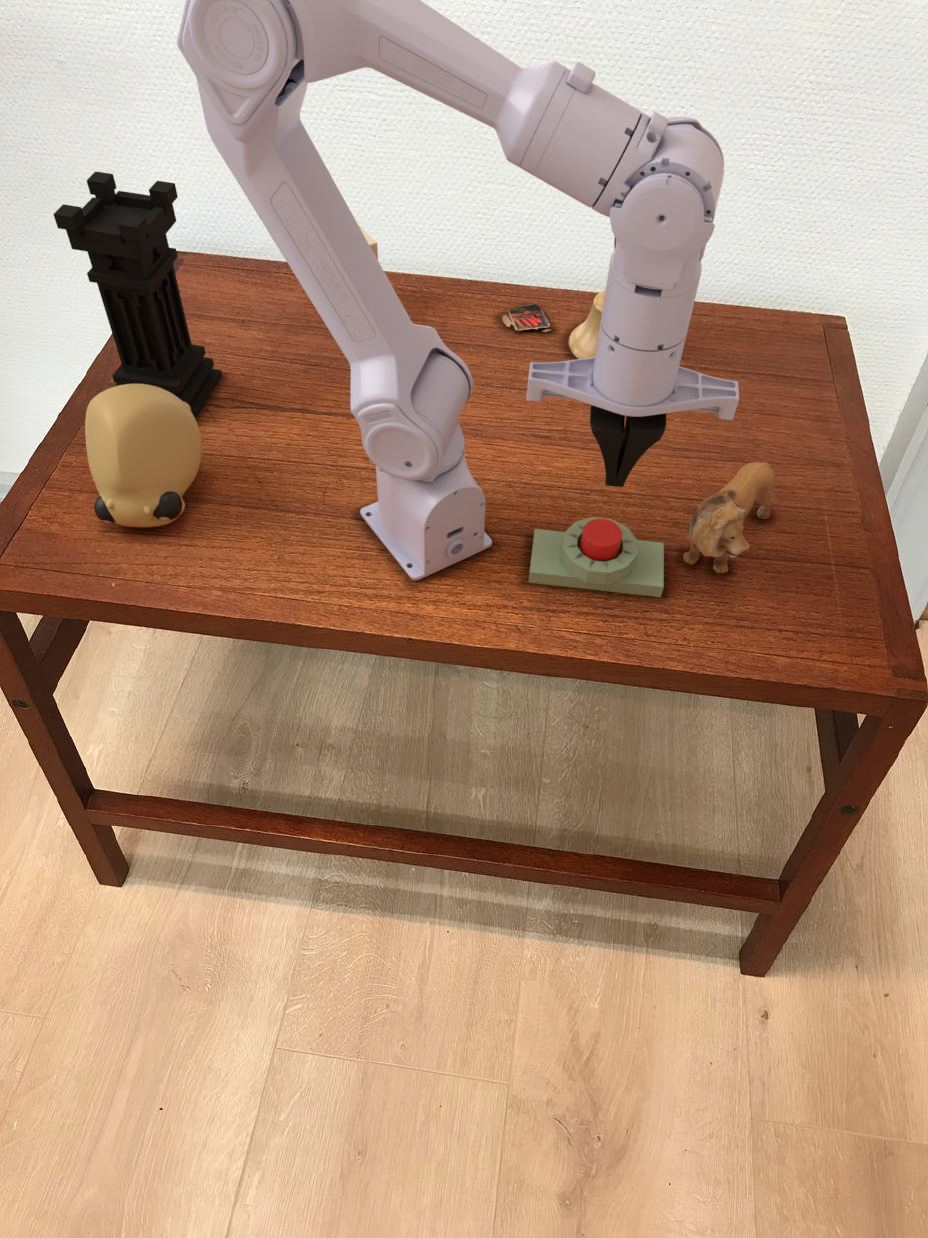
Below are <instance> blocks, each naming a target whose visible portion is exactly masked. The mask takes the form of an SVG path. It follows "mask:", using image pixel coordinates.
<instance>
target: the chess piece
mask: <svg viewBox="0 0 928 1238" xmlns="http://www.w3.org/2000/svg"><path fill="white" fill-rule="evenodd" d="M86 185H87V187H88V191H89V194H90V195H92V196H94V197H92V198H90V199H89V200H88V201H87V202H86V204H85V205H83V207H82V206H77V205H72V204H71V205H70V204H65V203H63V204H62V205H60V207H59V208H58V209H57V210H56V211H55V212H53V214H52V215H53V217H54V221H55V224H56V226H57V229H59V230H65V232H66V235H67V238H68V241H69V244H70V248H71V249H72V250H75V251H81V252H86V253H87V255H88V259H89V262H90V266H91V268H90V269H89V270H88V271H87V272H86V275H87V279H88V281H89V283H95V284H96V285H97V287H98V292H99V294H100V297H101V302H102V304H103V307H104V310H105V313H106V317H107V320H108V324H109V326H110V331H111V333H112V338H113V340H114V343H115V347H116V350H117V353H118V354H117V355H118V356H119V361H120V365H118V367H117V369H116V370H115V371H114V373H113V374H112V376H111V377H112V378H113V383H114V384H115V385H114V386H113V387H115V386H119V385H125V384H147V385H152V386H156V387H159V388H162V389H164V390H166V391H169V392H170V393H172V394H174V395H175V396H177V397H178V398H179V399H180V400H182V401H183V402H186V403H187V404H188V405H189V406H190V408H191V412H192V414H193V416H194V418H195V420H197V417H198V416H199V414H200V413H201V411H202V409H203V408H204V406H205V404H206V402H207V401H208V399H209V398H210V396H211V394H212V393H213V391H214V390H215V388H216V386H218V384H219V382H220V380H221V379H222V377H223V373H222V369H216V368H214V366H215V362H214V359H213V358H212V357H206V356H205V355H206V348H205V346H204V345H198V344H192V339H191V335H190V331H189V327H188V322H187V318H186V314H185V310H184V305H183V301H182V297H181V294H180V293H181V292H180V288H179V284H178V279H177V276H176V271H175V267H174V262H176V260H177V258H178V257H179V255H178V251H177V249H176V248H174V247H170V245H169V242H168V236H167V233H168V232H169V231H170V230H171V228H172V227H173V226H174V225H175V223H176V222H177V218H176V214H175V209H174V208H175V207H174V203H175V201H176V200H177V199H178V197H179V196H178V190H177V186H176V182H170V181H164V180H163V181H162V180H156V181H155V182H154V183H153V184H152V186H150V188H149V189H148V192H149V194H144V193H136V192H130V191H123V190H118V191H117V192H116V189H117V184H116V180H115V176H114V173H109V172H103V171H97V170H96V171H94V172H93V173H92V174H91V175H90V176H89V177H88V178H87V179H86Z"/></svg>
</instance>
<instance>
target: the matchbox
mask: <svg viewBox="0 0 928 1238" xmlns="http://www.w3.org/2000/svg"><path fill="white" fill-rule="evenodd" d="M507 312H508V314H504V315H502V316H501V322H503V324H504V325H505V326H506V327H507V328H511V326H513V327H514V330H515V331H524V330H532V329H534V330H538V329H544V328H545V329H544V330H542V331H541V332H543V333H547V332H551V331H553V329H552V328H550V329H549V327H550V325H551V323H550V322H549V319H548V318H547V316H546V314H545V312H544V310H543V309H542V308H540V307H539V306H538V305H537V303H534V304H533V303H531V304H522V305H516V306H515V307H513V308H509V309H507Z"/></svg>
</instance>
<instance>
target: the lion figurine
mask: <svg viewBox="0 0 928 1238" xmlns="http://www.w3.org/2000/svg"><path fill="white" fill-rule="evenodd" d="M775 486H776V473H775V471H774V470H773V469H772V466H771V464H770V463H768V462H759V461H754V462H750V463H747V464H745V465H743V466H742V467H740V468H739V470H738V471H737V472H736V474H735V475H734V477H733V478H732V479H731V480H730V481H729V482H728V483H727V484H726V485H725V486H723V487H722V488H721V489H720V490H719V491H718V492H717V493H714V494H711V495H709V496H707V498H706V499H704V500H702V501H701V502H700V503H699V504H698V505H697V506H695V507H694V509H693V510H694V511H693V512H692V513H691V517H690V519H689V521H688V526H687V538H688V540H689V542H690V543H689V551H686V552H684V553H683V554H682V560H683V561H684V563H686V564H688V565H694V564H696V563H697V561H698V560H699V559H700V554H702V555H703V556H704V557H706V558H707V557H708V558H709V557H710V558H711V557H713V565H712V567H713V568H712V569H713V571H715V572H716V573H717V574H725V573H728V571H729V567H728V560H729V558H731V559H734V558H736V557H738V556H739V554H742V553H743V552H744V551H748V549H750V544H749V542H748V541H747V540H746V539H745V537H744V535H743V534H744V529H745V527H744V525H745V522H744V520H745V519H746V517H747V516H748V514H749V513H750V511H751V509H752V507H753V505H754V502H756V503H758V504H759V505H760V507H759V508H758V509H757V511H756V516H757V517H758V518H759V519H761V520H768V519H769V518H770V516H771V510H772V506H773V504H774V502H775V496H774V492H775V488H776V487H775Z"/></svg>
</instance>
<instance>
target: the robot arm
mask: <svg viewBox="0 0 928 1238" xmlns="http://www.w3.org/2000/svg"><path fill="white" fill-rule="evenodd" d="M176 45H177V48H178V49H179V51H180V53H181V54H182V56H183V58H184V59H185V61H186V63H187V64H188V66H189V67H190V69H191V71H192V72H193V75H195V80H196V83H197V89H198V93H199V98H200V102H201V103H200V104H201V107H202V113H203V118H204V122H205V126H206V130H207V133H208V135H209V138H210V139H211V141H212V143H213V146H215V148H216V150H217V152H218V153H219V155H220V156H221V157H222V159H223V161H224V163H225V164H226V166H227V168H228V169H229V171H230V172H231V174H232V175H233V178H234V179H235V181H236V182H237V184H238V185H239V187H240V189H241V191H242V192H243V193H244V195H245V196H246V198H247V200H248V201H249V203H250V204H251V206H252V208H253V210H254V211H255V213H256V215H257V216H258V218H259V219H260V221H261V222H262V224H263V226H264V227H265V229H266V231H267V232H268V234H269V236H270V237H271V239H272V240H273V242H274V244H275V245H276V247H277V248H278V250H279V252H280V253H281V256H282V257H283V258H284V260H285V261H286V263H287V265H288V266H289V268H290V269H291V271H292V273H293V274H294V276H295V277H296V279H297V281H298V282H299V284H300V286H301V287H302V289H303V290H304V293H305V294H306V296H307V297H308V299H309V301H310V302H311V304H312V305H313V307H314V308H315V310H316V312H317V313H318V315H319V316H320V318H321V319H322V321H323V324H324V325H325V326H326V328H327V329H328V331H329V333H330V334H331V336H332V337H333V339H334V341H335V342H336V344H337V346H338V347H339V349H340V351H341V353H342V354H343V355H344V357H345V358H346V360H347V362H348V363H349V366H350V390H349V391H350V392H349V394H350V398H349V400H350V401H349V402H350V403H349V404H350V405H349V407H350V412H351V414H352V415H353V417H354V418H355V419H356V422H357V424H358V426H359V428H360V433H361V443H362V446H363V447H362V448H363V450H364V452H365V454H366V455H367V457H368V459H369V460H370V461H371V462H372V463H373V464H374V465H375V476H376V490H377V501H376V502H373V503H370V504H369V505H365V506H364V507H361V509H360V510H359V512H360V513H359V514H360V516H361V518H362V519H363V520H364V521H365V523H366V524H367V525H368V526H369V528H370V529H371V530H372V532H373V533H374V534H375V535H376V537H377V538H378V539H379V540H380V542H382V544H383V546H385V548H386V549H387V550H388V551H389V553H390V554H391V555H392V557H393V558H394V559H395V561H396V562H397V563H398V564H399V566H400V567H401V568H402V569H403V571H404V572H405V573H406V574H407V576H408V577H409V578H410V579H411V580H412V581H420V580H423V579H424V578H426V577H428V576H430V575H433V574H435V573H437V572H439V571H441V570H444V569H446V568H448V567H450V566H452V565H454V564H457V563H459V562H461V561H463V560H465V559H467V558H469V557H470V558H471V556H473V555H476V554H479V553H480V552H482V551H485V550H486V549H490V548H491V547H492V545H493V540H492V538H491V537H490V536H489V535H488V533H486V531H485V527H486V526H485V524H486V510H487V507H486V506H487V499H486V495H485V493H484V491H483V489H482V487H480V486H479V484H478V482H476V480H475V479H474V477H473V475H472V472H471V471H470V469H469V466H468V462H467V458H466V450H465V446H466V445H465V443H466V442H465V436H464V433H463V430H462V426H461V423H460V420H459V419H460V417H461V415H462V412H463V410H464V408H465V406H466V405H467V404H468V402H469V400H470V399H471V397H472V395H473V391H474V380H473V376H472V373H471V371H470V369H469V367H468V365H467V364H466V363H465V362H464V360H462V358H461V357H459V356H458V355H457V354H456V353H455V352H453V351H452V350H451V349H450V348H449V347H448V346H447V345H446V344H445V343H444V342H443V340H442V338H441V337H440V335H439V333H438V331H437V330H436V329H435V328H434V327H432V326H429V325H422V324H415V323H414V322H413V321H412V319H411V318H410V316H409V314H408V312H407V310H406V309H405V307H404V305H403V303H402V302H401V300H400V298H399V296H398V294H397V292H396V291H395V289H394V287H393V285H392V283H391V281H390V280H389V278H388V276H387V274H386V273H385V270H384V269H383V267H382V265H381V263H380V262H379V259H378V260H377V258H376V256H375V254H374V253H373V251H372V249H371V247H370V245H369V244H368V242H367V240H366V238H365V236H364V235H363V233H362V231H361V229H360V227H361V226H360V224H358V222H357V219H356V218H355V216H354V214H353V213H352V211H351V209H350V206H349V205H348V204H347V202H346V200H345V198H344V196H343V194H342V193H341V190H340V189H339V187H338V185H337V183H336V182H335V180H334V178H333V177H332V174H331V173H330V171H329V169H328V168H327V165H326V164H325V162H324V160H323V159H322V157H321V155H320V153H319V151H318V150H317V148H316V146H315V144H314V143H313V140H312V139H311V136H310V135H309V133H308V131H307V129H306V128H305V126H304V124H303V123H302V120H301V111H302V109H303V104H304V100H305V96H306V93H307V90H308V86H309V84H311V83H316V82H319V81H323V80H326V79H329V78H334V77H337V76H341V75H343V74H344V75H345V74H347V73H350V72H354V71H357V70H361V69H366V68H368V69H372V70H374V71H375V72H378V73H380V74H382V75H384V76H386V77H388V78H391V79H392V80H395V81H397V82H398V83H400V84H402V85H405V86H407V87H409V88H411V89H412V90H415V91H417V92H419V93H420V94H422V95H425V96H427V97H429V98H431V99H433V100H435V101H437V102H439V103H441V104H443V105H445V106H447V107H450V108H451V109H454V110H456V111H457V112H460V113H462V114H464V115H466V116H468V117H470V118H472V119H474V120H476V121H478V122H479V123H482V124H484V125H487V126H489V127H491V128H493V129H494V131H495V133H496V135H497V138H498V140H499V144H500V147H501V149H502V152H503V155H504V157H505V159H506V160H507V162H509V163H510V164H512V165H514V166H516V167H518V168H519V169H521V170H523V171H524V172H526V173H527V174H530V175H532V176H533V177H535V178H536V179H539V180H540V181H542V182H544V183H546V184H548V185H549V186H550V187H552V188H554V189H556V190H558V191H560V192H561V193H563V194H565V195H567V196H568V197H569V198H572V199H573V200H575V201H577V202H578V203H581V204H582V205H584V206H586V207H587V208H591V209H592V210H593V211H595V212H597V213H598V214H600V215H603V216H605V217H608V218H609V223H610V227H611V231H612V234H613V236H614V238H616V240H617V241H616V247H615V248H614V250H613V252H612V253H611V256H610V258H609V264H608V270H607V271H608V272H607V277H606V285H605V289H604V290H605V297H604V303H603V310H602V316H601V322H600V328H599V335H598V342H597V348H596V355H595V357H591V358H584V359H578V358H576V359H570V360H561V361H549V362H540V361H539V362H537V361H530V363H529V370H528V378H527V388H526V389H527V390H526V398H525V399H526V401H527V402H528V401H529V402H542V400H543V397H548V398H557V399H567V400H568V399H569V400H575V401H578V402H581V403H584V404H587V405H590V411H589V412H590V413H589V426H590V429H591V434H592V435H593V436H594V438H595V440H596V443H597V445H598V448H599V450H600V452H601V456H602V460H603V465H604V470H605V471H604V472H605V477H604V478H605V479H604V480H605V481H604V485H605V486H608V487H616V488H623V487H624V486H625V483H626V481H627V479H628V478H629V475H630V474H631V472H632V470H633V469H634V467H635V465H636V464H637V463H638V461H639V460H640V459H641V458H642V457H643V455H644V454H645V453H647V451H648V450H649V449H650V448H651V447H653V445H655V444H656V443H658V442H659V441H660V440H662V437H663V436H664V434H665V431H666V428H667V414H671V413H679V412H687V411H695V412H704V413H705V412H706V413H714V414H716V417H717V418H718V419H719V420H727V421H733V420H734V417H735V414H736V410H737V407H738V405H739V402H740V391H739V390H740V389H739V382H738V380H733V379H732V380H731V379H725V378H720V377H717V376H712V375H709V374H705V373H703V372H699V371H696V370H693V369H689V368H686V367H683V366H680V365H681V360H682V356H683V352H684V347H685V344H686V339H687V334H688V331H689V327H690V323H691V318H692V313H693V309H694V305H695V301H696V297H697V292H698V288H699V284H700V279H701V276H702V269H703V268H702V265H703V264H702V260H703V258H704V255H705V251H706V247H707V243H708V242H709V241H710V239H711V238H712V235H713V233H714V232H715V227H716V226H715V224H714V219H715V216H716V211H717V208H718V204H719V199H720V194H721V191H722V187H723V183H724V177H725V159H724V153H723V150H722V148H721V146H720V144H719V142H718V140H717V139H716V137H715V136H714V135H713V134H712V133H711V132H710V131H709V130H707V129H706V128H705V127H703V125H702V124H701V123H700V121H698V120H697V119H696V118H694V117H693V118H692V117H687V116H671V117H666V116H664V115H662V114H660V113H659V112H657V111H653V112H652V114H651V116H650V115H648V114H647V113H645V112H642V111H641V110H640V109H638V108H637V107H634V106H633V105H631V104H630V103H628V102H626V101H625V100H623V99H621V98H619V96H616V95H614V94H612V93H610V92H609V91H608V90H606V89H604V88H603V87H601V86H599V85H598V84H596V83H594V82H593V81H594V80H595V77H596V75H597V74H596V71H595V70H594V69H592V68H590V67H589V66H586V65H585V64H583V63H581V62H580V61H576V62H575V63H574V64H573V67H572V69H570V68H567V66H565V65H563V64H562V63H560V62H558V61H556V60H553V61H548V62H545V63H542V64H537V65H535V66H529V67H524V68H523V67H522V66H519V65H518V64H516V63H515V62H513V61H512V60H510V59H509V58H508V57H506V56H504V55H503V54H502V53H500V52H498V50H495V49H494V48H492V47H491V46H490V45H488V44H487V43H485V42H484V41H482V40H481V39H479V38H478V37H476V36H475V35H473V34H472V33H470V32H469V31H467V30H465V29H464V28H463V27H461V26H460V25H458V24H457V23H456V22H453V21H452V20H451V19H449V18H448V17H447V16H445V15H443V14H442V13H440V12H439V11H437V10H436V9H434V8H433V7H431V6H430V5H428V4H427V3H426V2H424V1H422V0H185V2H184V7H183V12H182V16H181V21H180V26H179V30H178V35H177V39H176ZM359 226H360V227H359Z"/></svg>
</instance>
